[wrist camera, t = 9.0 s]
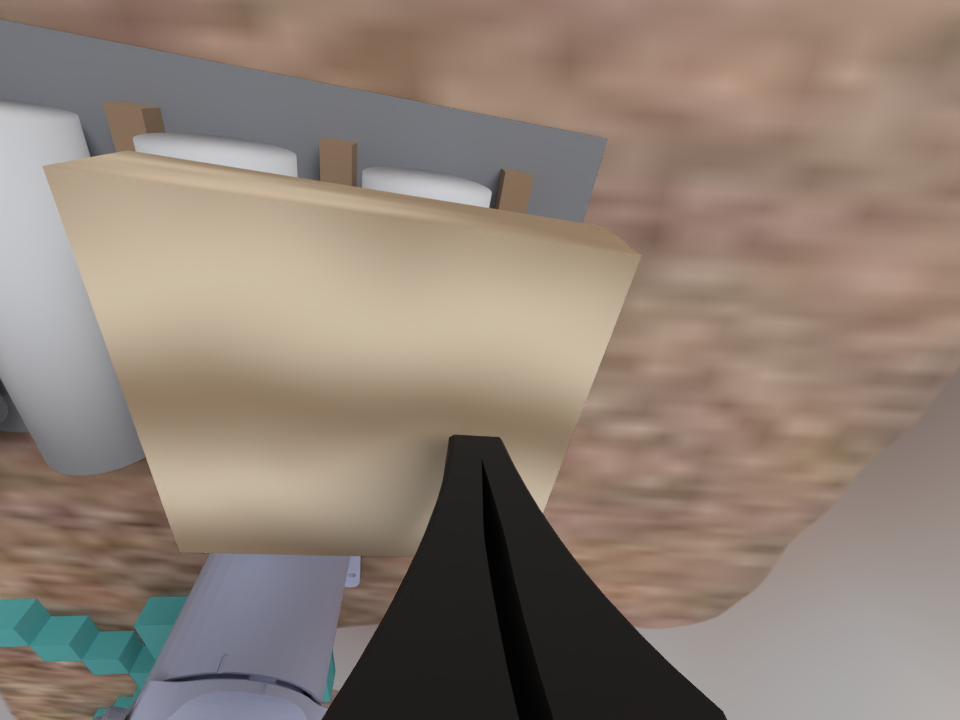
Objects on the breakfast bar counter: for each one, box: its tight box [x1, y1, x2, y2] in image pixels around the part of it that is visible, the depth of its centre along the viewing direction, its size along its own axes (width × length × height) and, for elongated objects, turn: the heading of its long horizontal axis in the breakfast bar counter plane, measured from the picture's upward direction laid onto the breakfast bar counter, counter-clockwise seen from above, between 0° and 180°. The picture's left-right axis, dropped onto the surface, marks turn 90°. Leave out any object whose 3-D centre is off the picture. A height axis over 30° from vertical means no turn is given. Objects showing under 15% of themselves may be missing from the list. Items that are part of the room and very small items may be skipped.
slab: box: [42, 150, 641, 557], centre depth 13 cm, size 12×12×2 cm
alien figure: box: [0, 596, 336, 720], centre depth 33 cm, size 20×2×20 cm
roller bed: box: [0, 20, 607, 475], centre depth 14 cm, size 19×28×6 cm
